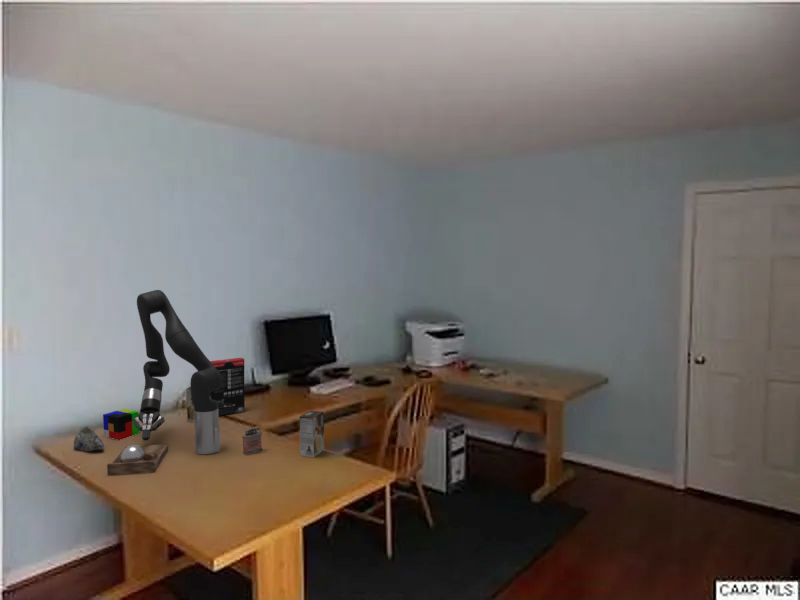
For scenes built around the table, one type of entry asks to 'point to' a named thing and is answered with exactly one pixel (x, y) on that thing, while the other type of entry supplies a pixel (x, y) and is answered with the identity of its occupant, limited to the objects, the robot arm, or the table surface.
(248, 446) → the lighter
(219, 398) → the graphics card box
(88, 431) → the mineral rock
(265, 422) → the table surface
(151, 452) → the wooden ball holder
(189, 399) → the coffee box
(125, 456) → the steel ball
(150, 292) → the robot arm
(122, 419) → the puzzle toy
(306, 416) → the coffee box
